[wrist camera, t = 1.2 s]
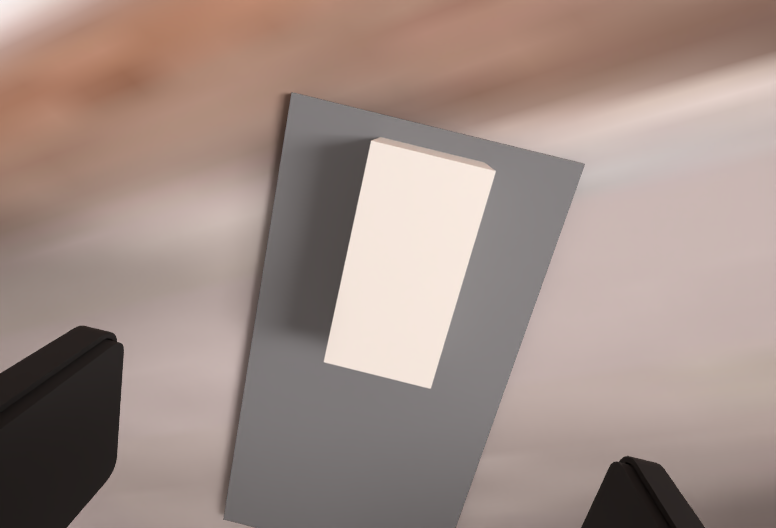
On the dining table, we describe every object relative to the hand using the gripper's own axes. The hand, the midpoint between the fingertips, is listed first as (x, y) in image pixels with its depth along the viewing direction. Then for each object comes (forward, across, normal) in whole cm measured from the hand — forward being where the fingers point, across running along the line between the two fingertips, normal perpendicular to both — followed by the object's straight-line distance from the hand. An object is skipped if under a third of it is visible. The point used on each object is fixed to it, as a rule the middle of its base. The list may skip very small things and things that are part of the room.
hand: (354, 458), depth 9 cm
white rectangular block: (+16, -1, 0) cm, 16 cm away
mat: (+16, -1, +7) cm, 18 cm away
